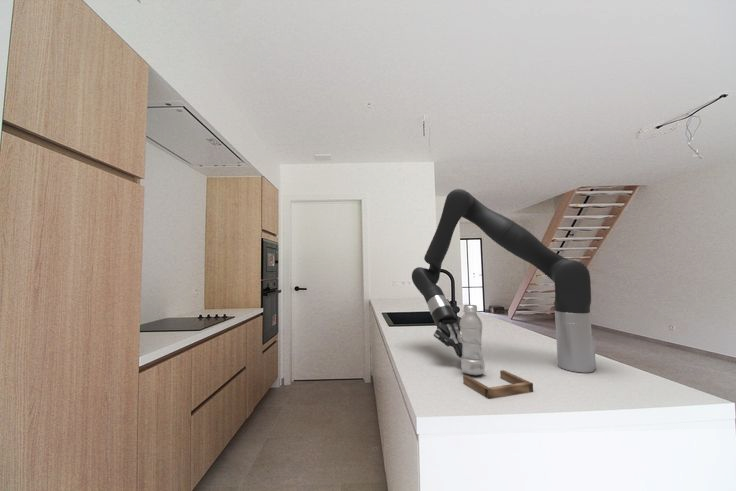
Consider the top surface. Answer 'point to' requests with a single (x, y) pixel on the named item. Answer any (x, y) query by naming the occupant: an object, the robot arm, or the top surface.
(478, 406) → the top surface
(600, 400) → the top surface
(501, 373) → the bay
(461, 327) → the plastic bottle
